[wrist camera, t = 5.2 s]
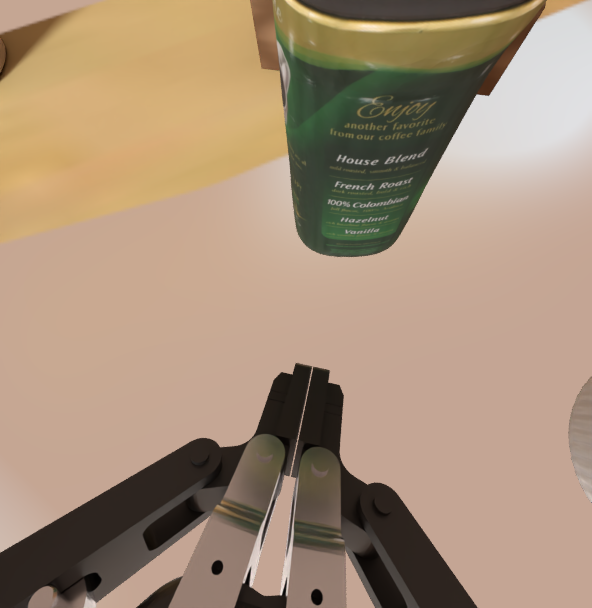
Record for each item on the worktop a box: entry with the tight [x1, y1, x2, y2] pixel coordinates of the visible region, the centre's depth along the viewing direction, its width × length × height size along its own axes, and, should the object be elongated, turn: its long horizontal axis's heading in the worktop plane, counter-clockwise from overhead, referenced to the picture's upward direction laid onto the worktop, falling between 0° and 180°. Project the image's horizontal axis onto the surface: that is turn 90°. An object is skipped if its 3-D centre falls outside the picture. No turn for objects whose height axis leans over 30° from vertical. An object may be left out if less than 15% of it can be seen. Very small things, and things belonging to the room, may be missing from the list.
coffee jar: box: [272, 0, 546, 257], centre depth 14 cm, size 10×8×19 cm
